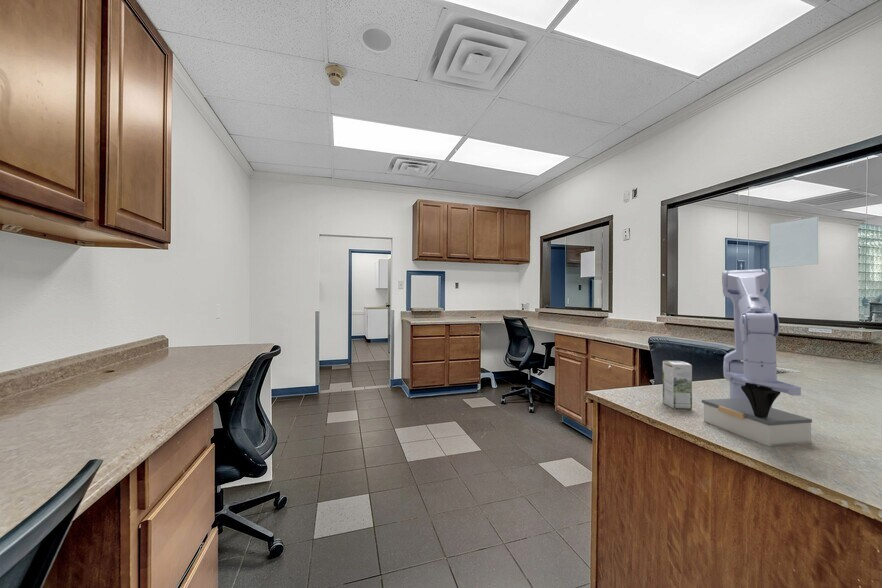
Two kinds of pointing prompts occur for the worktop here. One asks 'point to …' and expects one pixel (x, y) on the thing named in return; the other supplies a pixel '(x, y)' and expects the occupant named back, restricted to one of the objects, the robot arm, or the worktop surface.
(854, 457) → the worktop surface
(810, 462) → the worktop surface
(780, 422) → the lid
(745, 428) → the storage box
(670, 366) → the syrup box
